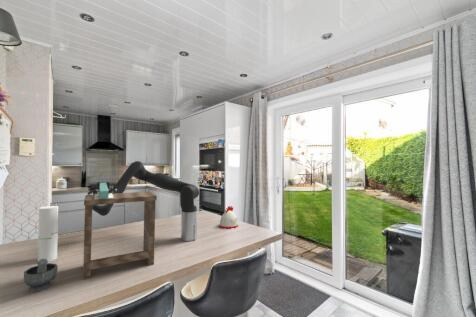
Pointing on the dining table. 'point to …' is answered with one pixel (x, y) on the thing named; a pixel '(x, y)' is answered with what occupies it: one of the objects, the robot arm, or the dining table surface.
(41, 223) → the cylindrical container
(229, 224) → the kitchen timer
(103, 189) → the teal square bar
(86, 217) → the stand
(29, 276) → the mortar and pestle
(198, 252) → the dining table surface
